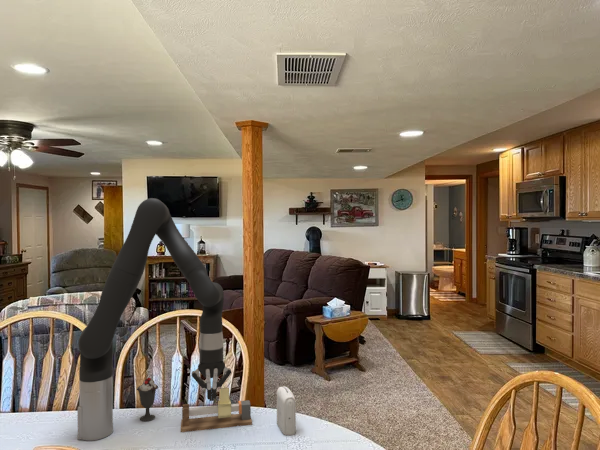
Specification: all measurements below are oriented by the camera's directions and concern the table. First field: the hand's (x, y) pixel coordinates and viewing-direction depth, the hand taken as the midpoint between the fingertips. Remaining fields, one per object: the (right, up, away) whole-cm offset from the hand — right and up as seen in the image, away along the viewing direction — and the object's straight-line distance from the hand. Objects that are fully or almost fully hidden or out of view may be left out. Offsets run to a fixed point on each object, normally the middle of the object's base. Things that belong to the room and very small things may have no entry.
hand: (211, 400), depth 142 cm
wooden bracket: (+1, -8, 0) cm, 8 cm away
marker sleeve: (+4, -5, +1) cm, 7 cm away
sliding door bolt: (+2, -7, 0) cm, 7 cm away
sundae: (-22, -8, +5) cm, 24 cm away
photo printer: (+24, -8, -3) cm, 25 cm away
